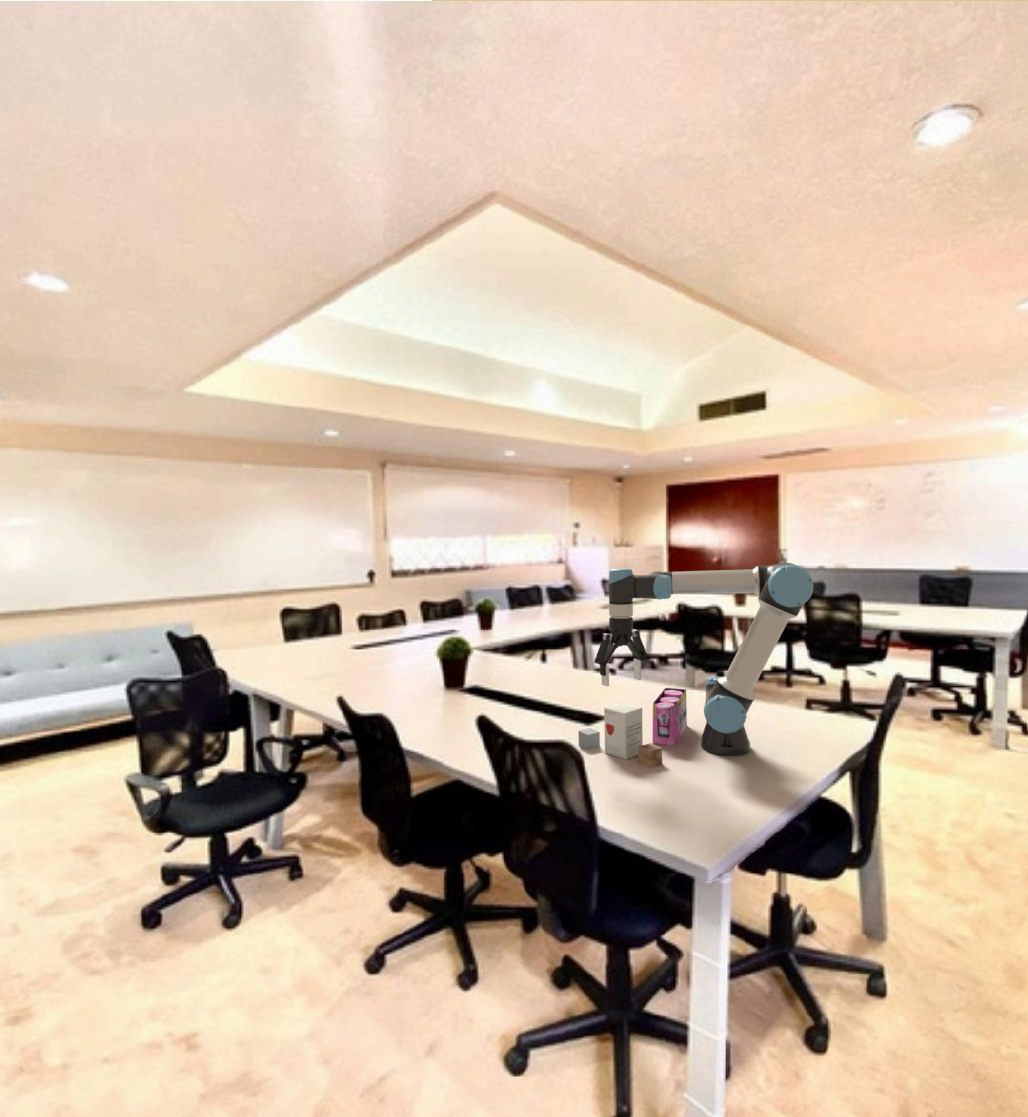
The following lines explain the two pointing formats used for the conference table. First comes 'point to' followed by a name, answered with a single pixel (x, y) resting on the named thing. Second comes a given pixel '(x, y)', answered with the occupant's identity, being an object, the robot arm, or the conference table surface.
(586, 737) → the slate block
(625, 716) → the supplement box
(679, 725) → the gum box
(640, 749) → the walnut block
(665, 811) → the conference table surface
